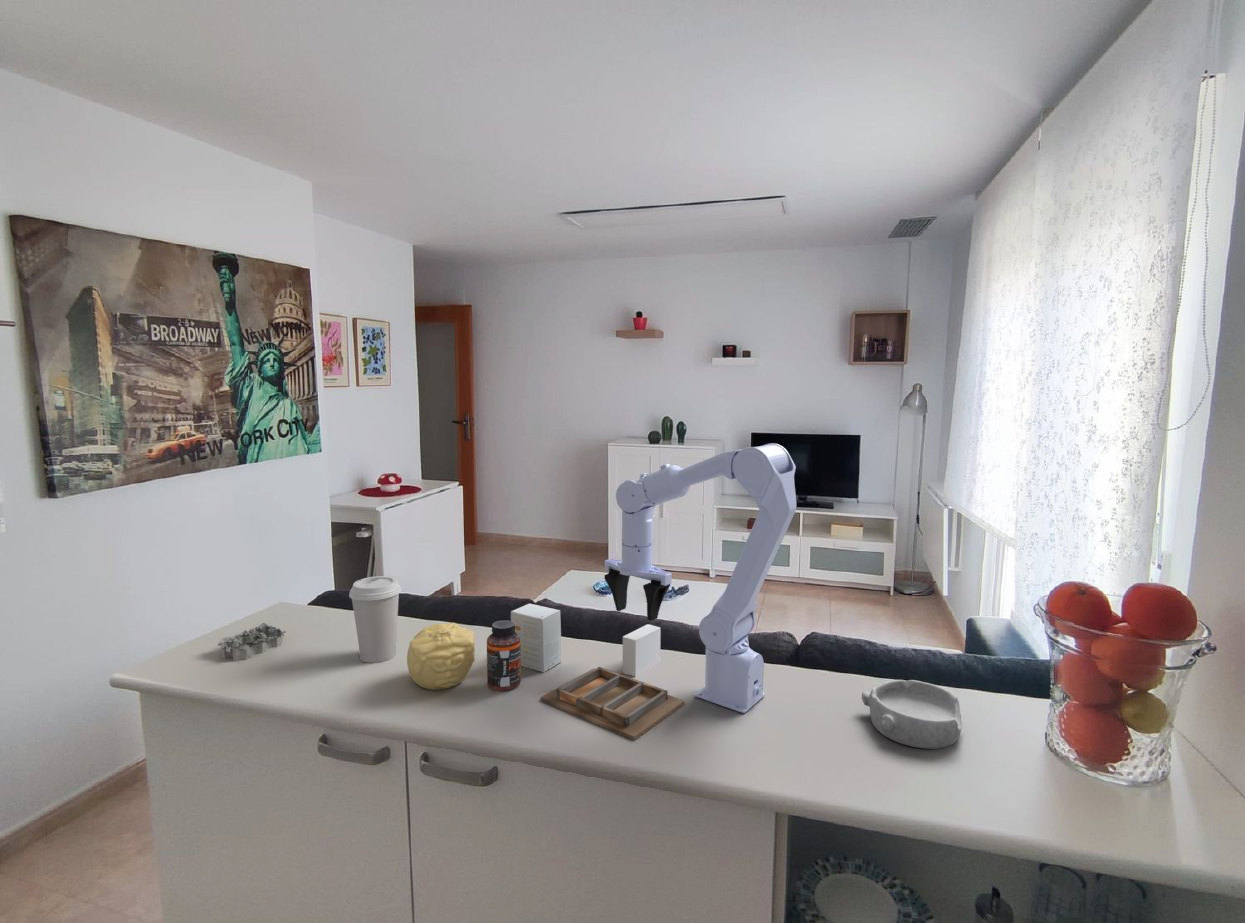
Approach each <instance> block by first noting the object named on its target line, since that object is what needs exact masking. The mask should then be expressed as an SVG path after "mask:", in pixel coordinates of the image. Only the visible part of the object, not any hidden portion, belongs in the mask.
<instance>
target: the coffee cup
mask: <svg viewBox="0 0 1245 923" xmlns="http://www.w3.org/2000/svg"><path fill="white" fill-rule="evenodd" d="M401 592H402V587H401V585H400V583H399V582H398V580H397V579H396V578H395V577H393V576H387V575H386V576H385V575H382V576H381V575H380V576H379V575H378V576H369V577H364V578H361V579H358V580H356V581H354V582H353V584H352V587H351V589H350V591H349V592H348V593H349V594H348V596H349V598H350V599H351V603H352V608H353V616H354V622H355V629H356V634H357V642H358V649H359V656H360V660H361V661H362V662H365V663H368V664H369V663H370V664H371V663H372V664H374V663H375V664H376V663H382V662H386V661H388V660H390V659H392V658H394V657H395V656H396V654H397V637H398V635H397V634H398V617H399V616H398V615H399V598H400V597H399V595H400V593H401Z"/></svg>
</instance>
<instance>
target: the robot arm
mask: <svg viewBox="0 0 1245 923" xmlns="http://www.w3.org/2000/svg"><path fill="white" fill-rule="evenodd" d="M659 468H660V469H659V470H656V471H653V472H651V473H647V472H643V473H641V474H640V475H639V478H636V479H633V480H631V479H630V480H625V481H623V482H622V483H621V484H619V486H618V487H617V489H616V492H615V501H616V504H617V506H618V507H619V508H620V510H621V559H616V558H615V559H614V558H609V559H606V560H604V571H607V572H608V573H607V574H604V580H605V582H606V583H607V585H608V587H609V589H610V592H611V594H612V598H613V601H614V605H615V610H616V611H617V612H621V611H623V610H625V609H626V608H627V604H628V602H627V601H628V600H627V599H628V588H629V587H628V586H629V581H630V576H631V577H635V578H638V579H643V580H646V581H650V582H648V583H645V584H643V585H642V588H643V590H644V593H645V599H646V616H647V621H649V622H652V621H655V620H657V619H658V616H659V614H660V609H661V606H662V602H663V600H664V598H665V596H666V593H667V592H668V590H669V588H670V587H671V584H672V577H673V574H672V573H673V572H669V571H666V570H663V569H661V568H659V567H658V566H655V565H654V564H653V554H654V552H653V551H654V550H653V548H654V546H653V544H654V542H653V541H654V538H653V536H654V515H655V509H656V508H655V507H656V506H658V505H662V504H664V503H667V502H671V501H673V500H676V499H678V498H682V497H684V496H686V495H687V494H688V492H689V489H690V487H691V486H692V485H696V484H700V483H702V482H705V481H710V480H712V479H716V478H719V477H722V476H724V477H726V478H728V479H729V480H734V479H736V480H737V482H738V483H739V484H740V486H742V488H743V489H744V490H746V491H747V493H748V494H749V495H750V496H751V497H752V498H753V500H754V502H755V504H756V506H757V507H758V511H759V512H758V514H757V516H756V518H755V520H754V522H753V525H752V528H751V530H750V531H749V533H748V537H747V539H746V541H745V544H744V546H743V549H742V551H741V553H740V555H739V558H738V560H737V562H736V565H735V566H734V569H733V572H732V574H731V576H730V579H729V581H728V583H727V585H726V588H725V589H724V592H723V593H722V595H721V596H720V597H719V598H718V600H717V601H716V602H715V603H714V605H713V606H712V609H711V611H710V612H709V613H708V614H707V615H706V616H704V617H703V618H702V619H701V621H700V622H699V625H698V626H699V627H698V634H699V637H700V640H701V642H702V643H703V644H704V646H705V670H704V671H705V674H704V675H705V678H704V680H705V682H704V686H703V687H702V688H700V689H699V690H698V691H696V692H695V693H694V696H695V697H696V698H699V699H701V700H705V701H707V702H710V703H713V704H716V705H719V706H722V707H725V708H727V709H731V710H733V711H737V712H739V713H742V714H745V713H746V712H747V711H749V710H750V709H751V708H752V707H753V706H755V705H756V704H757V703H759V701H760V700H761V699H762V698H764V697H765V692H764V667H765V666H764V664H765V663H764V658H763V655H762V654H760V653H758V652H756V651H754V650H753V649H752V648H751V647H750V646H749V644H750V643H749V634H750V633H752V631H753V630H754V628H755V625H756V618H755V617H756V616H755V615H756V611H757V607H758V603H757V600H756V599H757V597H758V596H759V593H760V591H761V589H762V586H763V584H764V582H765V579H766V578H767V576H768V573H769V571H770V568H771V566H772V564H773V562H774V560H775V558H776V555H777V553H778V551H779V550H780V549H779V548H780V546H781V544H782V542H783V540H784V537H785V536H786V533H787V531H788V529H789V527H790V524H791V521H792V519H793V518H794V515H795V514H796V510H797V494H796V487H795V486H796V485H795V473H796V468H797V467H796V464H795V462H794V461H793V459H792V457H791V454H790V453H789V452H788V450H787V449H786V448H785V447H784V446H782V445H780V444H778V443H775V442H774V443H773V442H772V443H766V444H763V445H760V446H748V447H744V448H742V449H741V448H740V449H736V450H730V451H726V452H725V451H724V452H722V453H718V454H717V455H714V456H712V457H709V458H706V459H704V460H702V461H700V462H698V463H695V464H692V465H689V466H688V467H686V468H682V467H681V466H679V465H675V464H673V465H671V464H670V463H667V464H666V463H665V464H662V465H660V466H659Z"/></svg>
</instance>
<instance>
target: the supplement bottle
mask: <svg viewBox="0 0 1245 923" xmlns="http://www.w3.org/2000/svg"><path fill="white" fill-rule="evenodd" d="M486 674H487V675H486V676H487V682H486V683H487V687H488V688H489V689H491V691H492V690H493V691H496V692H509V691H512V690H514V689H516V688H518V687H519V686H520V684H521V682H522V676H521V675H522V666H521V644H520V636H519V635H518V634H517V633H516V632H515V623H514V622H512V621H511V620H497V621H494V622H493V623H492V624H491V634H489V636H488V637H487V638H486Z"/></svg>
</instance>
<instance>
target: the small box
mask: <svg viewBox="0 0 1245 923" xmlns="http://www.w3.org/2000/svg"><path fill="white" fill-rule="evenodd" d="M561 619H562V618H561V609H555V608H552V607H551V608H550V607H547V606H542V605H539V604H533V603H527V604H525V605H523V606H520V607H518V608H516V609H514V610H510V621H512V622H514V623H515V632H516V633H517V634H518V635H519V636H520V644H521V667H523V666H524V667H523V668H527V669H530V670H534V669H535V670H534V671H537V672H540V671H541V672H540V673H545V671H546V672H547V671H548V669H549V670H550V669H552V668H554V667H555V666H557V665H558V664H560V663H562V660H563V659H562V657H563V656H562V626H561V623H562V622H561Z"/></svg>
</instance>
